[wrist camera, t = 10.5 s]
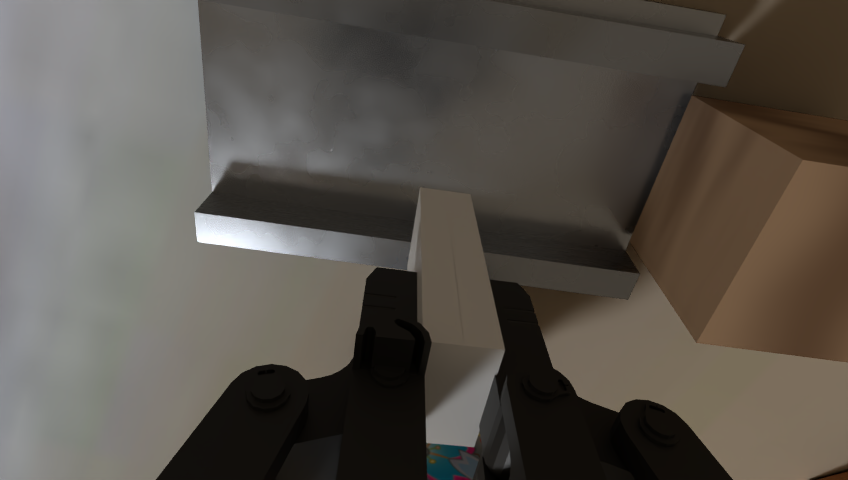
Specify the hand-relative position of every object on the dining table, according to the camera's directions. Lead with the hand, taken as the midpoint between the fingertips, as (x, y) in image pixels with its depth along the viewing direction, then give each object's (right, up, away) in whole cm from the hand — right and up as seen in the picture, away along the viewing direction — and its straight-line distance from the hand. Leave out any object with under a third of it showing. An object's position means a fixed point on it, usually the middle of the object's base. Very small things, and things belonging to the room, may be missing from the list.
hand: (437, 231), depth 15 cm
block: (+13, +2, +7) cm, 15 cm away
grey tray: (0, +4, +7) cm, 8 cm away
